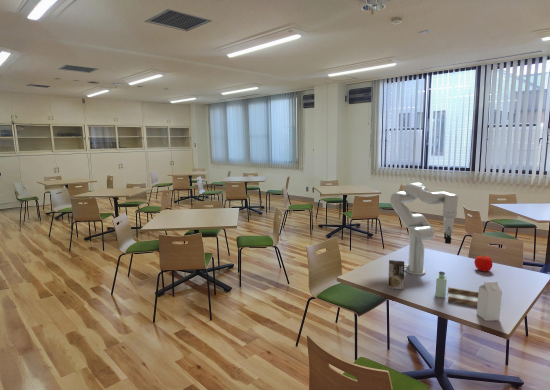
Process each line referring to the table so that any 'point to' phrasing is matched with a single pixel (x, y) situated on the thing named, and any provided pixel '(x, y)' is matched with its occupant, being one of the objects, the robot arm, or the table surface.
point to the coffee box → (396, 274)
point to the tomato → (483, 263)
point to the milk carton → (489, 301)
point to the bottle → (441, 285)
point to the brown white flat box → (462, 297)
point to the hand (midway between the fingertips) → (447, 241)
